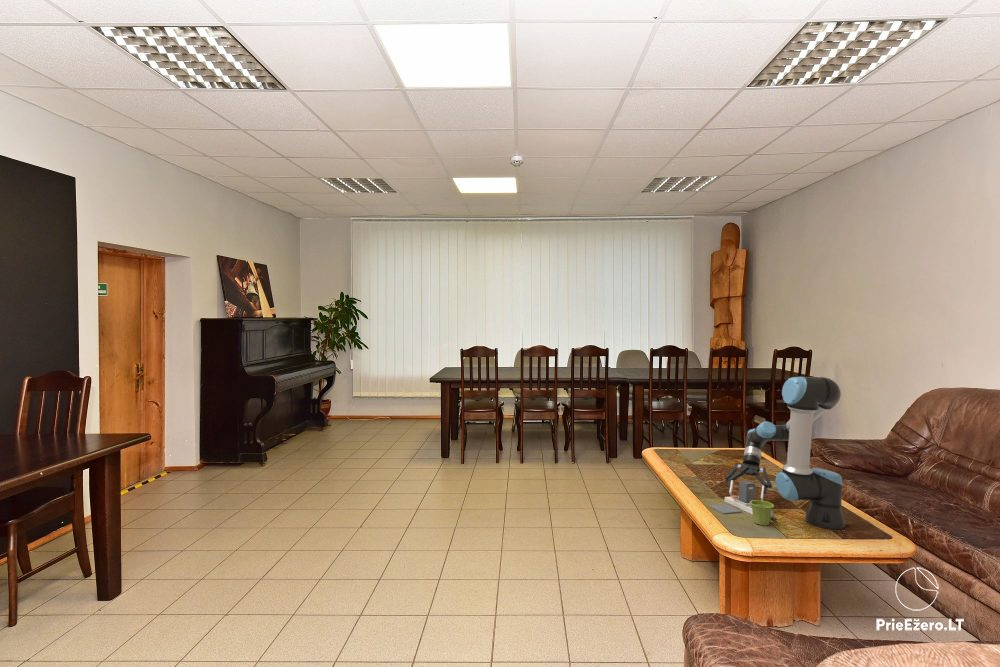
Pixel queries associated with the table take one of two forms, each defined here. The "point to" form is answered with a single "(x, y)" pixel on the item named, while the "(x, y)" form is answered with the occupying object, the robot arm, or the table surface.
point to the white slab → (743, 505)
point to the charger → (746, 491)
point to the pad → (725, 509)
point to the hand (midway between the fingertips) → (745, 496)
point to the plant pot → (761, 511)
